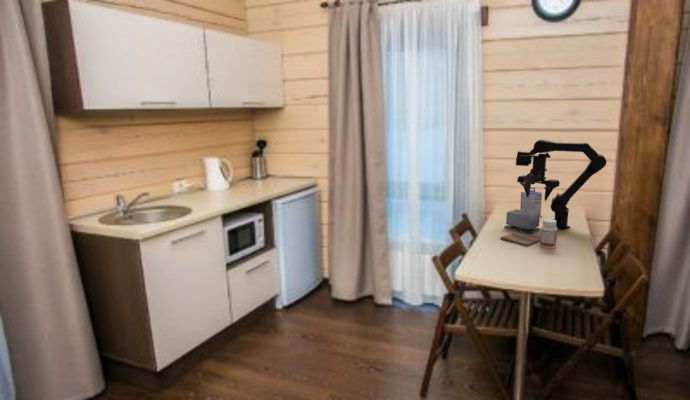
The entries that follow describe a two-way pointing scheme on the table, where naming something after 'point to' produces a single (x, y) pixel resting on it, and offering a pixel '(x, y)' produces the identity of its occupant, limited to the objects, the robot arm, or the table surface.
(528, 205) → the ink cartridge box
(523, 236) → the plate
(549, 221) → the pill bottle
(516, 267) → the table surface
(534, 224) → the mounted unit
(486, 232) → the table surface
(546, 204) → the table surface
